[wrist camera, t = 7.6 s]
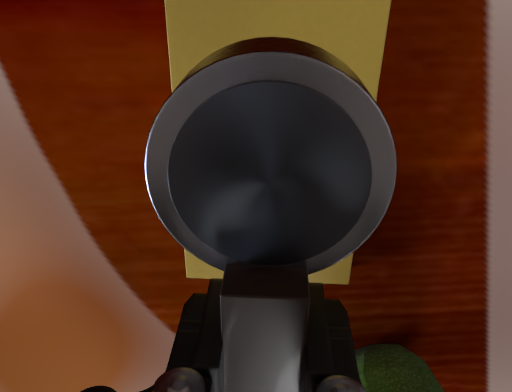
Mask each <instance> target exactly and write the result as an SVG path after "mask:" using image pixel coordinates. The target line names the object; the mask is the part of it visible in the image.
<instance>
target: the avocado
mask: <svg viewBox="0 0 512 392" xmlns="http://www.w3.org/2000/svg"><path fill="white" fill-rule="evenodd" d="M355 356H356V361H357V366H358V371H359V377H360V380H361V383H362V385H363V387H364V388H365V390H366V391H367V392H444V390H443V389H442V387H441V386H440V384H439V383H438V381H437V380H436V378H435V376H434V375H433V373H432V372H431V370H430V369H429V367H428V366H427V364H426V362H425V361H424V360H423V359H421V358H420V357H418V356H417V355H415V354H414V353H412V352H411V351H409V350H408V349H406V348H404V347H403V346H401V345H399V344H393V343H391V344H373V345H368V346H365V347H363V348H360V349H357V350H355Z"/></svg>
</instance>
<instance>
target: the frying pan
mask: <svg viewBox="0 0 512 392" xmlns="http://www.w3.org/2000/svg"><path fill="white" fill-rule="evenodd" d="M144 167H145V179H146V184H147V189H148V193H149V196H150V199H151V202H152V205H153V207H154V209H155V211H156V213H157V215H158V217H159V219H160V220H161V222H162V223H163V225H164V226H165V228H166V229H167V231H168V232H169V233H170V234H171V235H172V236H173V238H174V239H175V240H176V241H177V242H178V243H179V244H180V245H181V246H183V247H184V248H185V249H186V250H187V251H188V252H190V253H191V254H193V255H194V256H195V257H197V258H198V259H200V260H202V261H203V262H205V263H207V264H209V265H210V266H213V267H215V268H217V269H220V270H222V271H224V274H223V280H222V286H221V291H220V316H221V342H222V343H223V365H224V392H300V389H301V378H302V368H303V357H304V347H305V346H306V339H307V329H308V318H309V308H310V290H309V279H308V275H309V274H312V273H315V272H318V271H321V270H324V269H326V268H328V267H330V266H332V265H334V264H336V263H338V262H339V261H341V260H343V259H344V258H346V257H348V256H349V255H350V254H352V253H353V252H354V251H355V250H357V249H358V248H359V247H360V246H361V245H362V244H363V243H364V242H365V241H366V240H367V239H368V238H369V237H370V236H371V235H372V233H373V232H374V231H375V229H376V228H377V227H378V225H379V224H380V222H381V220H382V219H383V217H384V215H385V213H386V211H387V209H388V206H389V204H390V201H391V199H392V195H393V192H394V188H395V183H396V174H397V155H396V149H395V144H394V139H393V136H392V133H391V130H390V127H389V124H388V122H387V120H386V118H385V116H384V114H383V113H382V111H381V109H380V107H379V106H378V104H377V103H376V101H375V100H374V98H373V97H372V96H371V94H370V93H369V91H368V90H367V88H366V87H365V85H364V84H363V83H362V81H361V80H360V79H359V77H358V76H357V75H356V74H355V73H354V72H353V71H352V70H351V69H350V68H349V67H348V66H347V65H346V64H345V63H344V62H343V61H341V60H340V59H339V58H337V57H336V56H335V55H333V54H331V53H329V52H328V51H326V50H324V49H322V48H320V47H318V46H315V45H313V44H310V43H307V42H304V41H300V40H296V39H291V38H283V37H258V38H252V39H247V40H242V41H239V42H236V43H233V44H230V45H227V46H225V47H223V48H221V49H219V50H217V51H215V52H213V53H211V54H210V55H209V56H207V57H206V58H204V59H203V60H201V61H200V62H199V63H198V64H197V65H196V66H195V67H194V68H192V69H191V70H190V71H189V72H188V74H187V75H186V76H185V77H184V79H183V80H182V81H181V82H180V83H179V85H178V86H177V87H176V88H175V90H174V91H173V92H172V93H171V95H170V96H169V97H168V98H167V99H166V101H165V102H164V103H163V105H162V107H161V108H160V110H159V112H158V113H157V115H156V117H155V119H154V121H153V124H152V126H151V129H150V131H149V135H148V139H147V143H146V148H145V159H144Z"/></svg>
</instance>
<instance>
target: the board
mask: <svg viewBox="0 0 512 392" xmlns="http://www.w3.org/2000/svg"><path fill="white" fill-rule="evenodd" d="M390 6H391V0H165V12H166V25H167V37H168V50H169V63H170V75H171V88H172V92H173V91H174V90H175V88H176V87H177V86H178V85H179V83H180V82H181V81H182V80H183V79H184V77H185V76H186V75H187V74H188V72H189V71H190V70H191V69H192V68H194V67H195V66H196V65H197V64H198V63H199V62H200V61H201V60H203V59H204V58H206V57H207V56H209V55H210V54H211V53H213V52H215V51H217V50H219V49H221V48H223V47H225V46H227V45H230V44H233V43H236V42H239V41H242V40H247V39H252V38H258V37H283V38H291V39H296V40H300V41H304V42H307V43H310V44H313V45H315V46H318V47H320V48H322V49H324V50H326V51H328V52H329V53H331V54H333V55H335V56H336V57H337V58H339V59H340V60H341V61H343V62H344V63H345V64H346V65H347V66H348V67H349V68H350V69H351V70H352V71H353V72H354V73H355V74H356V75H357V76H358V77H359V79H360V80H361V81H362V83H363V84H364V85H365V87H366V88H367V90H368V91H369V93H370V94H371V96H372V97H373V98H374V100H375V101H376V99H377V92H378V86H379V79H380V72H381V66H382V59H383V52H384V46H385V39H386V32H387V26H388V19H389V12H390ZM184 251H185V264H186V276H187V278H208V279H211V278H221V279H223V274H224V271H222V270H220V269H217V268H215V267H213V266H210V265H209V264H207V263H205V262H203V261H202V260H200V259H198V258H197V257H195V256H194V255H193V254H191V253H190V252H188V251H187V250H186V249H185V248H184ZM352 259H353V253H352V254H350V255H349V256H348V257H346V258H344V259H343V260H341V261H339V262H338V263H336V264H334V265H332V266H330V267H328V268H326V269H324V270H321V271H318V272H315V273H312V274H309V275H308V279H309V282H312V283H326V284H349V279H350V272H351V265H352Z"/></svg>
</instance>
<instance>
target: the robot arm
mask: <svg viewBox="0 0 512 392" xmlns="http://www.w3.org/2000/svg"><path fill="white" fill-rule="evenodd" d="M222 280H223V279H221V278H211V279H210V283H209V288H208V292H207V294H199V293H194V294H193V295H192V296H191V297H190V298H189V299H188V301H187V302H186V303H185V304H184V307H183V311H182V315H181V319H180V322H179V325H178V330H177V333H176V336H175V340H174V344H173V347H172V351H171V354H170V358H169V362H168V365H167V369H166V371H165V373H163V374H162V375H161V376H160V377H159V378H158V379H157V380H156V382H155V384H154V385H153V386H151V387H150V388H148V389H146V390H143V391H140V392H224V365H223V343H222V342H221V316H220V291H221V286H222ZM309 290H310V308H309V318H308V329H307V339H306V346H305V347H304V357H303V368H302V378H301V389H300V392H367V391H366V390H365V388H364V387H363V385H362V383H361V380H360V377H359V371H358V366H357V361H356V356H355V350H354V345H353V340H352V335H351V330H350V324H349V319H348V314H347V311H346V309H345V308H344V307H343V305H342V304H341V303H340V301H339V300H333V299H324V291H323V285H322V283H312V282H309ZM81 392H116V391H115V390H114V389H112V388H110V387H107V386H94V387H90V388H87V389H85V390H83V391H81Z"/></svg>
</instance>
